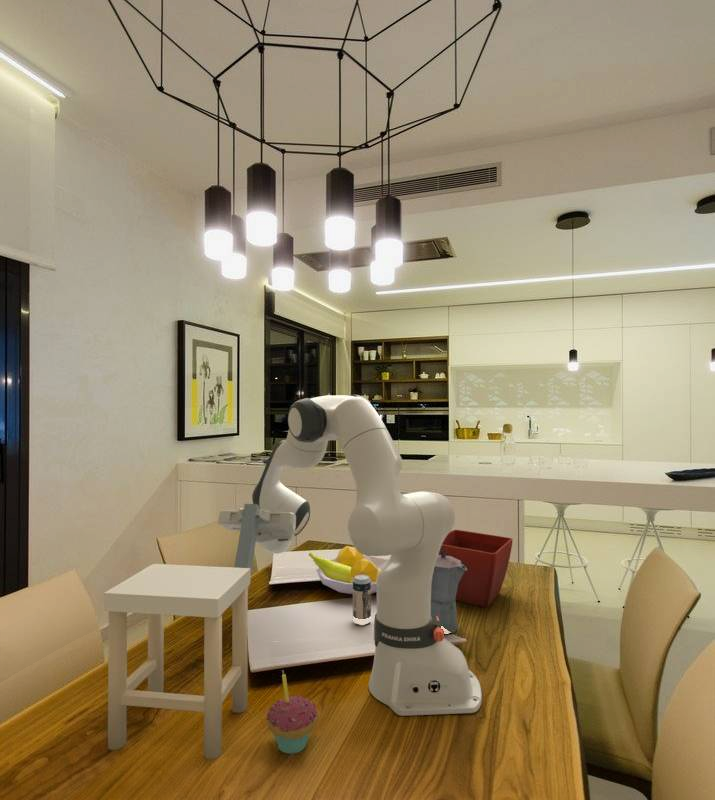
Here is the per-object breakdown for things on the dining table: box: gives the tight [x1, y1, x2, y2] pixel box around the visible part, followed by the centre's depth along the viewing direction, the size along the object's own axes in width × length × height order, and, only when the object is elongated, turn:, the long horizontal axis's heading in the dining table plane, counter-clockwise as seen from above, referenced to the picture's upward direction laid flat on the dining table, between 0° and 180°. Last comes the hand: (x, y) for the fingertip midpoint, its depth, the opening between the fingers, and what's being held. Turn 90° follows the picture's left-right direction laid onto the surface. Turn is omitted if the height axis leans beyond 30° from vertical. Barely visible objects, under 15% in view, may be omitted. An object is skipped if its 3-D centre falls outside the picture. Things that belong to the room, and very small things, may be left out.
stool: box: [103, 563, 251, 761], centre depth 87 cm, size 20×15×26 cm
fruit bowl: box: [308, 545, 390, 595], centre depth 154 cm, size 28×27×11 cm
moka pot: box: [431, 550, 467, 634], centre depth 126 cm, size 10×15×20 cm, turn 58°
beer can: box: [352, 574, 372, 619], centre depth 128 cm, size 5×5×12 cm
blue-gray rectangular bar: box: [228, 503, 261, 608], centre depth 119 cm, size 3×24×3 cm
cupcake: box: [266, 669, 319, 754], centre depth 83 cm, size 9×8×12 cm
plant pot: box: [438, 529, 514, 608], centre depth 146 cm, size 19×19×17 cm
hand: (249, 511), depth 121 cm, fingers closed on blue-gray rectangular bar, 3 cm apart
